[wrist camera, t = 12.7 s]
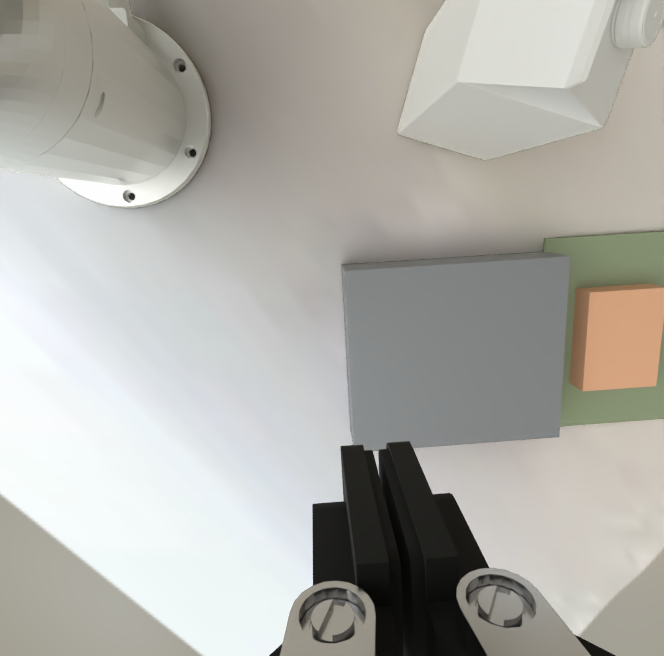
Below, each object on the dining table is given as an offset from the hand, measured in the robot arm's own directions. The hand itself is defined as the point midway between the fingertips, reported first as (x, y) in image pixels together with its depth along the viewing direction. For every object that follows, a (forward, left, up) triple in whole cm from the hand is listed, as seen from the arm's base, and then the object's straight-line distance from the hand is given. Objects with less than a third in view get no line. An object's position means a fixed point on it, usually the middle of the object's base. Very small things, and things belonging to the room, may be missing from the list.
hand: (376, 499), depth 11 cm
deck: (+4, +9, -27) cm, 29 cm away
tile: (+4, +23, -25) cm, 34 cm away
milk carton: (-14, +10, -27) cm, 32 cm away
